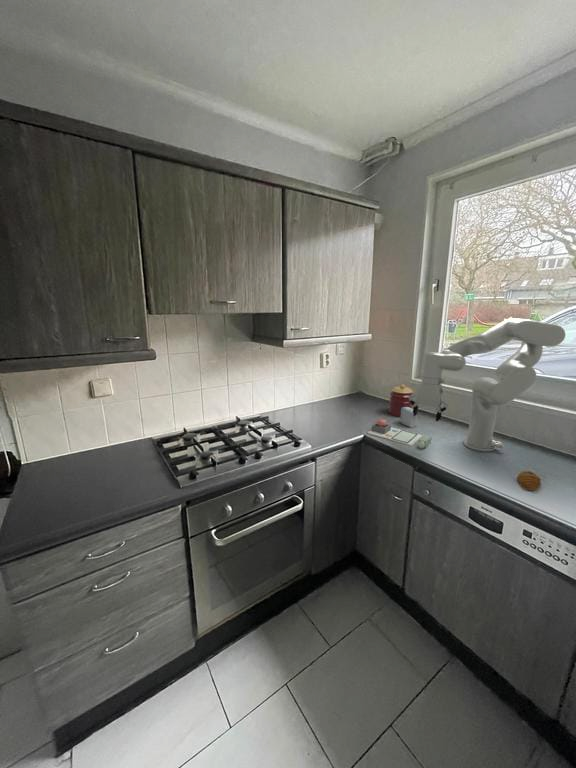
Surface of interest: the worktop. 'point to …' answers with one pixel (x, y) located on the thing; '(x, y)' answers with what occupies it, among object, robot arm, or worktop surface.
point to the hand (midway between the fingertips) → (426, 417)
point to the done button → (381, 423)
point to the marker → (424, 441)
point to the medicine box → (408, 417)
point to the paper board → (395, 434)
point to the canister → (399, 399)
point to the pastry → (529, 480)
